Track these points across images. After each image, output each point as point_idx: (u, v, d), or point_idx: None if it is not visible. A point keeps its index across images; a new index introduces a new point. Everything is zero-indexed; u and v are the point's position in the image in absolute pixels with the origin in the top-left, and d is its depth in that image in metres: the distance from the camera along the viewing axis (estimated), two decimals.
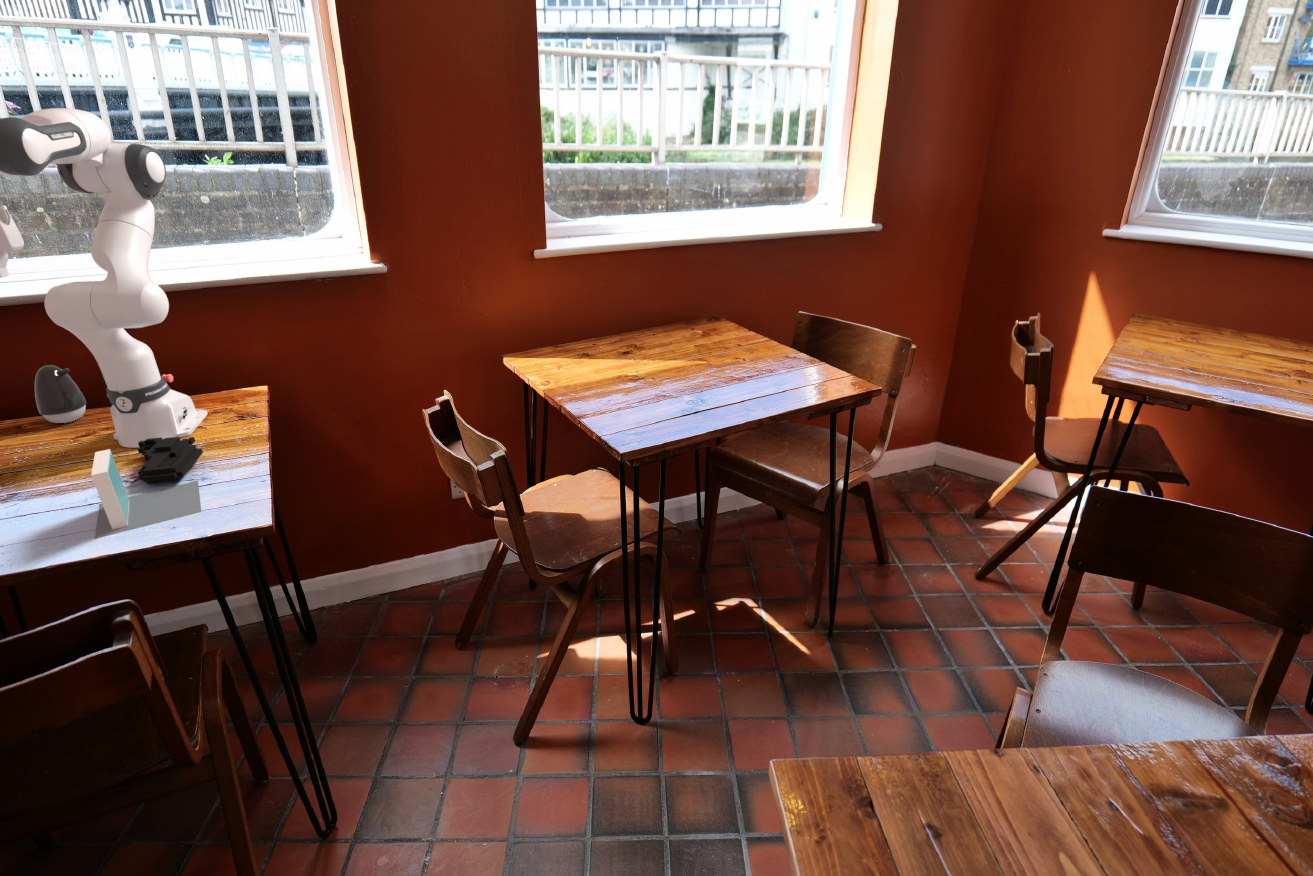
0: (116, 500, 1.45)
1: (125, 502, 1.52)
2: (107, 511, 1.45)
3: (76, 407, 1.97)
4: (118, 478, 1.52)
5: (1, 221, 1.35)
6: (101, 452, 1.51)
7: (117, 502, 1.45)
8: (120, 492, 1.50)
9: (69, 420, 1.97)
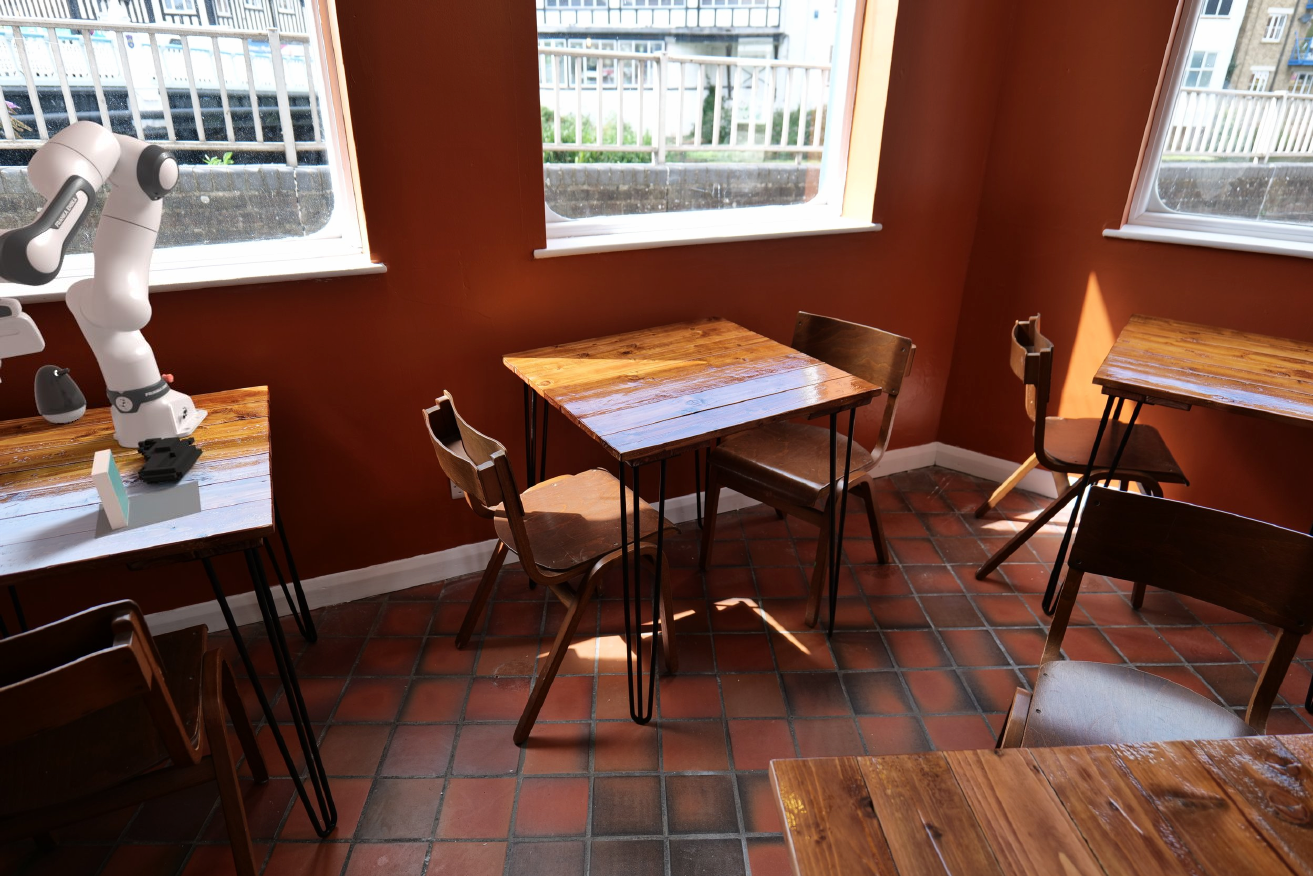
0: (116, 500, 1.45)
1: (125, 502, 1.52)
2: (107, 511, 1.45)
3: (76, 407, 1.97)
4: (118, 478, 1.52)
5: None
6: (101, 452, 1.51)
7: (117, 502, 1.45)
8: (120, 492, 1.50)
9: (69, 420, 1.97)
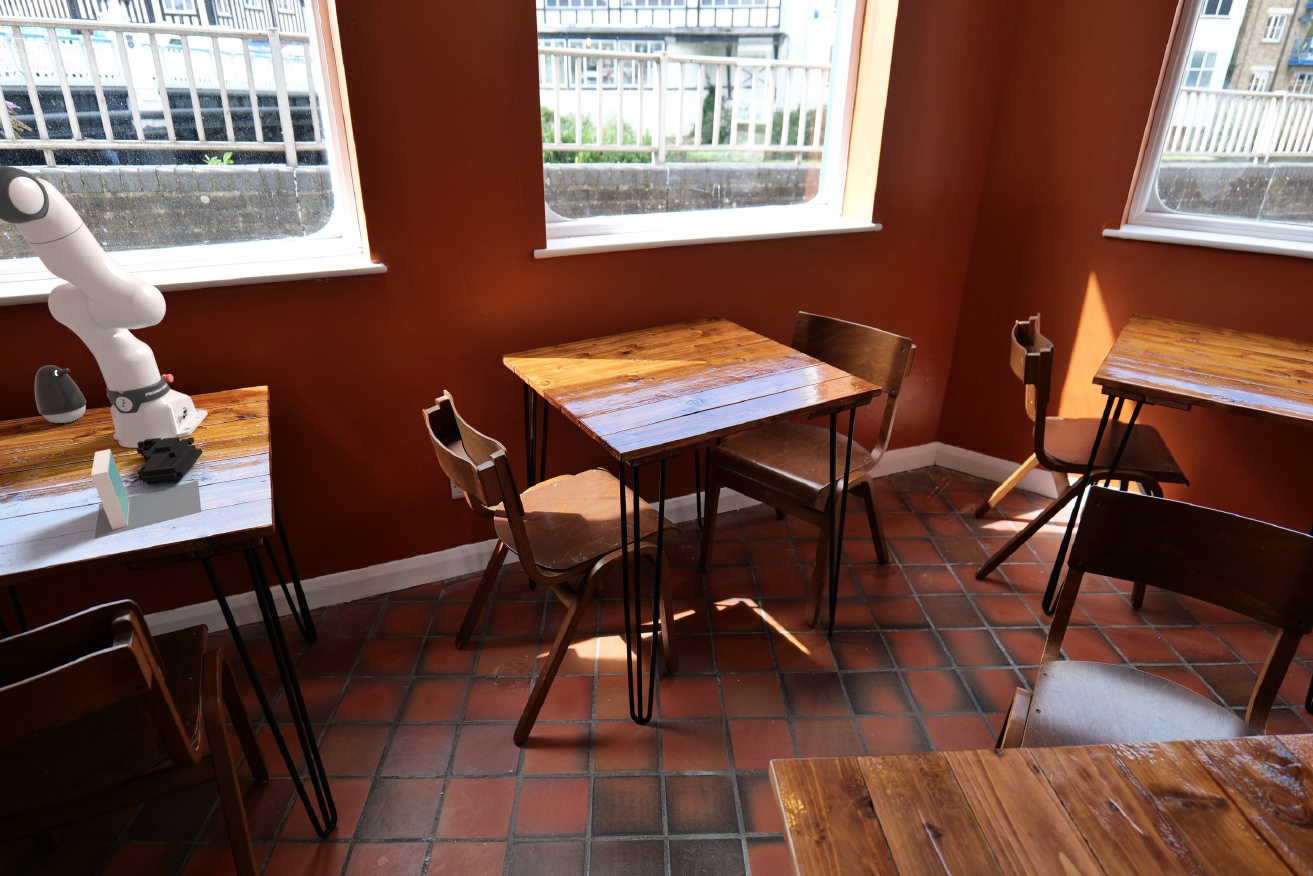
0: (116, 500, 1.45)
1: (125, 502, 1.52)
2: (107, 511, 1.45)
3: (76, 407, 1.97)
4: (118, 478, 1.52)
5: None
6: (101, 452, 1.51)
7: (117, 502, 1.45)
8: (120, 492, 1.50)
9: (69, 420, 1.97)
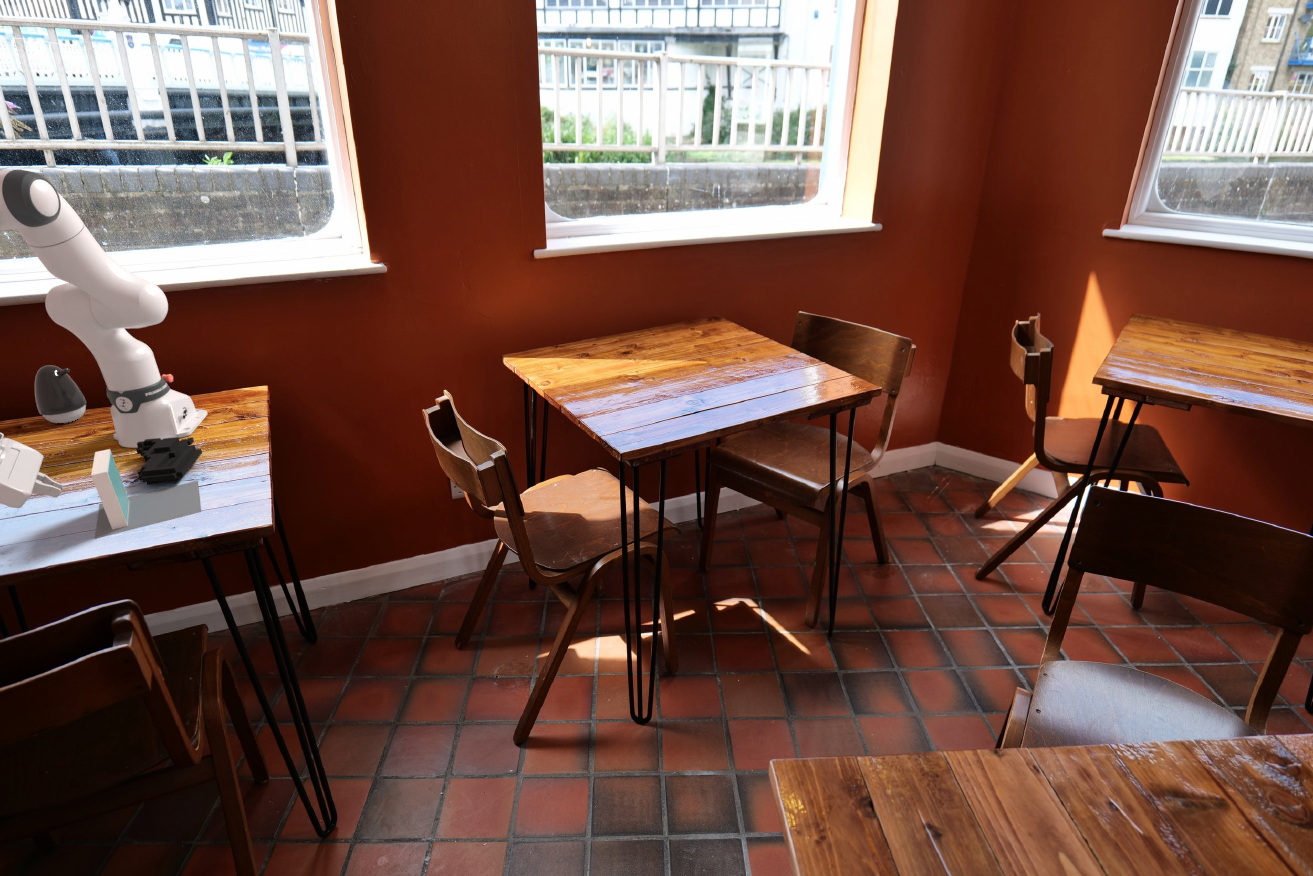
0: (116, 500, 1.45)
1: (125, 502, 1.52)
2: (107, 511, 1.45)
3: (76, 407, 1.97)
4: (118, 478, 1.52)
5: None
6: (101, 452, 1.51)
7: (117, 502, 1.45)
8: (120, 492, 1.50)
9: (69, 420, 1.97)
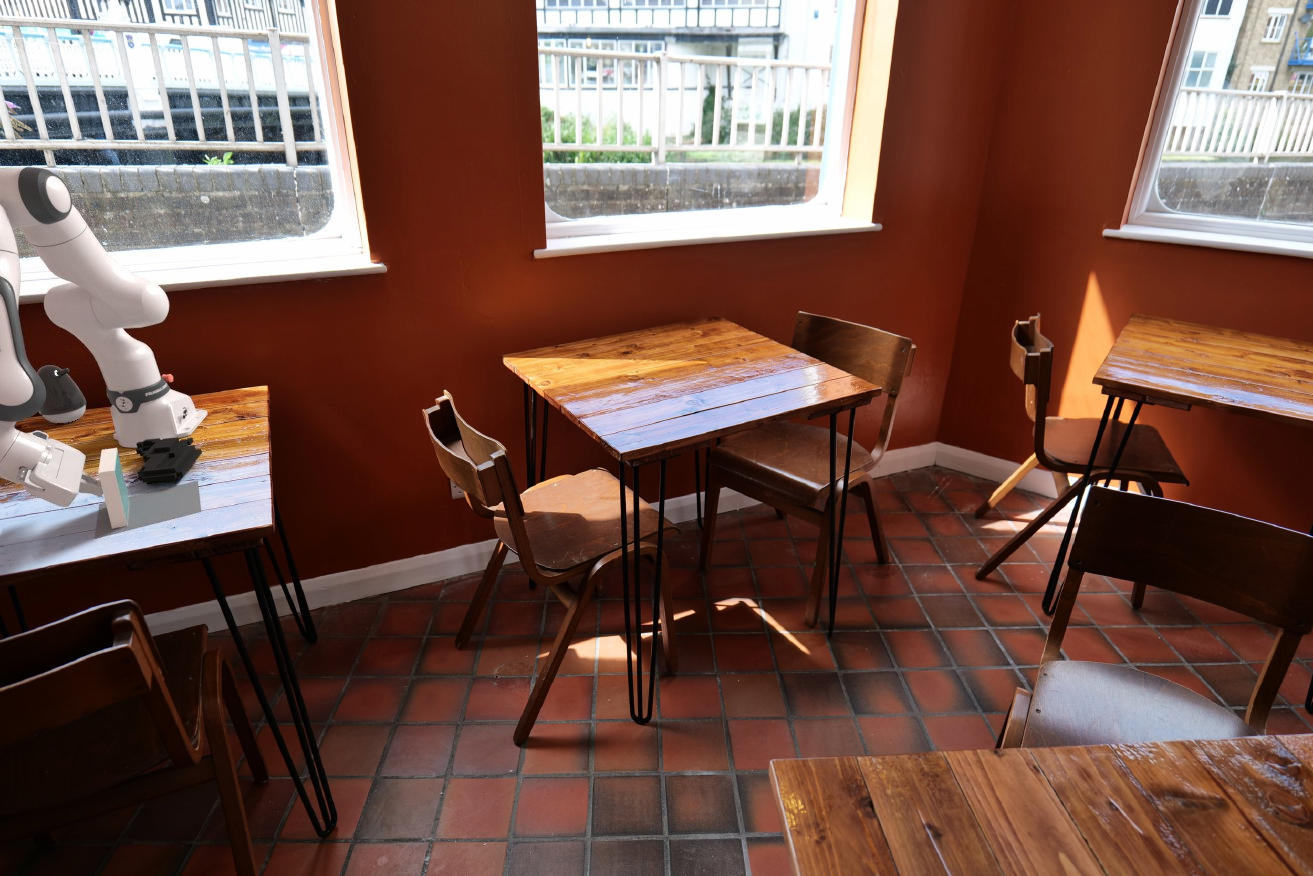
0: (119, 499, 1.45)
1: (126, 502, 1.52)
2: (109, 509, 1.45)
3: (76, 407, 1.97)
4: (122, 477, 1.52)
5: (36, 493, 1.35)
6: (108, 450, 1.51)
7: (120, 501, 1.46)
8: (123, 491, 1.50)
9: (69, 420, 1.97)
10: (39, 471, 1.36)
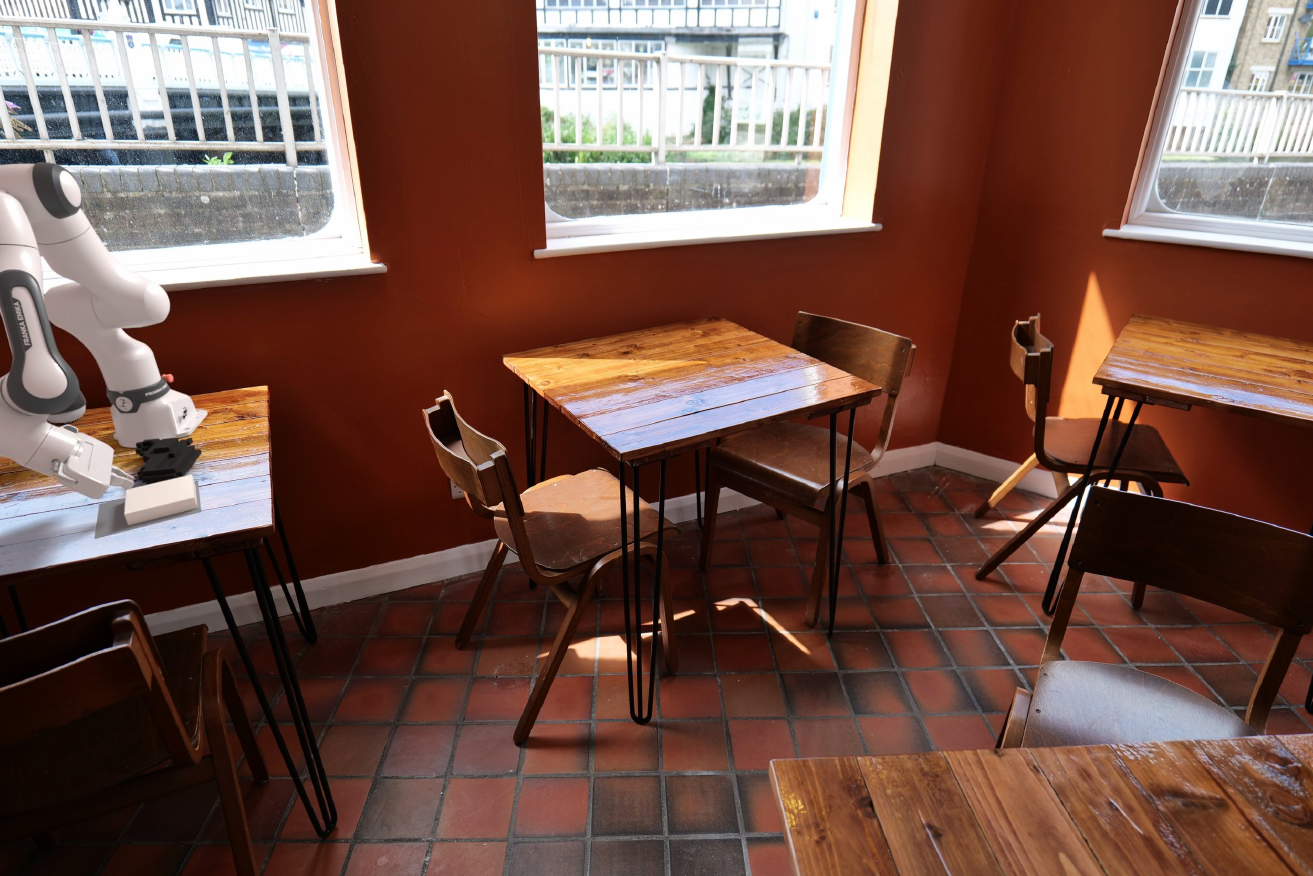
0: (162, 515, 1.50)
1: None
2: (149, 509, 1.49)
3: (76, 407, 1.97)
4: None
5: (69, 485, 1.37)
6: (193, 480, 1.61)
7: (159, 516, 1.50)
8: None
9: (69, 420, 1.97)
10: (71, 464, 1.38)
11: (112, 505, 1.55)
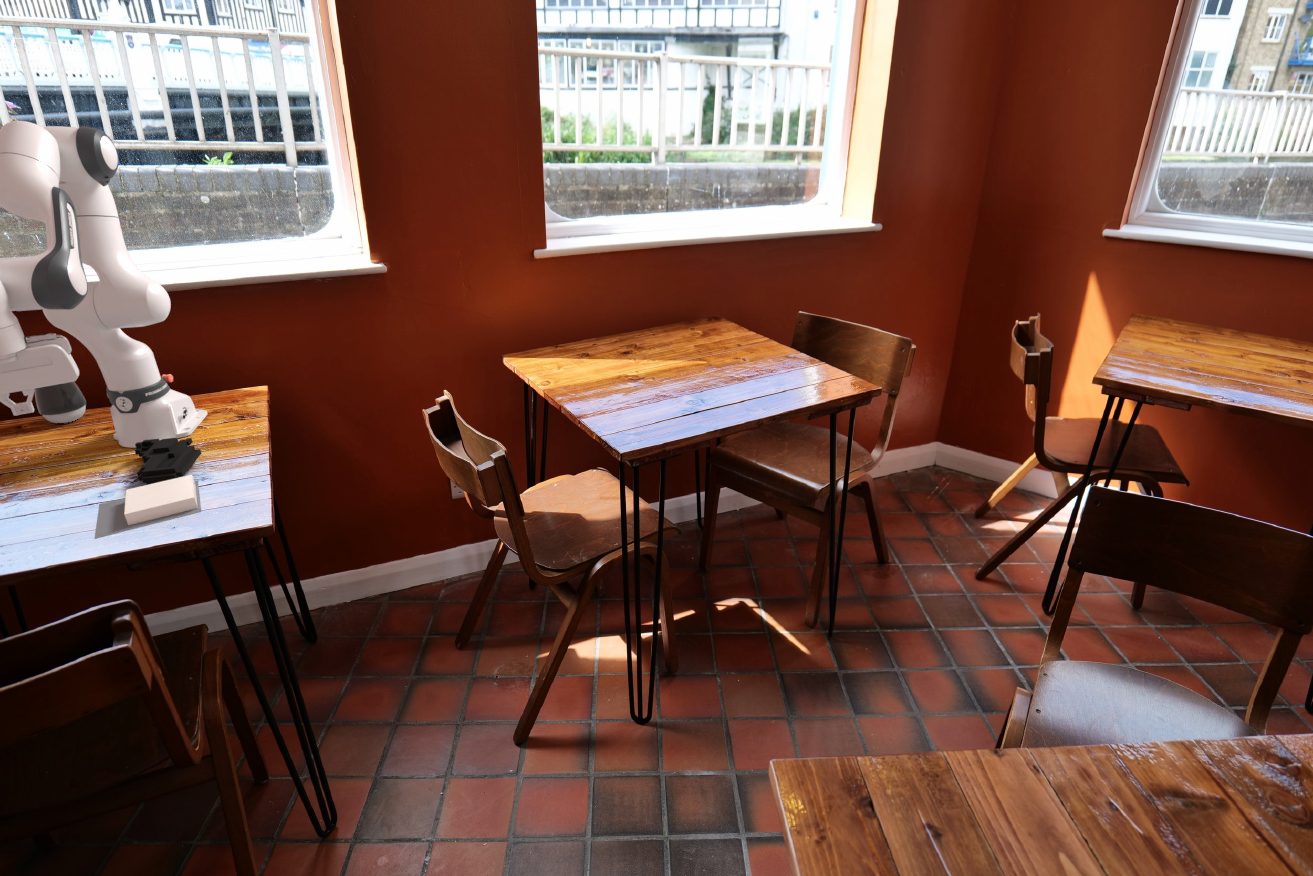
0: (162, 515, 1.50)
1: None
2: (149, 509, 1.49)
3: (76, 407, 1.97)
4: None
5: (66, 353, 1.39)
6: (193, 480, 1.61)
7: (159, 516, 1.50)
8: None
9: (69, 420, 1.97)
10: None
11: (112, 505, 1.55)
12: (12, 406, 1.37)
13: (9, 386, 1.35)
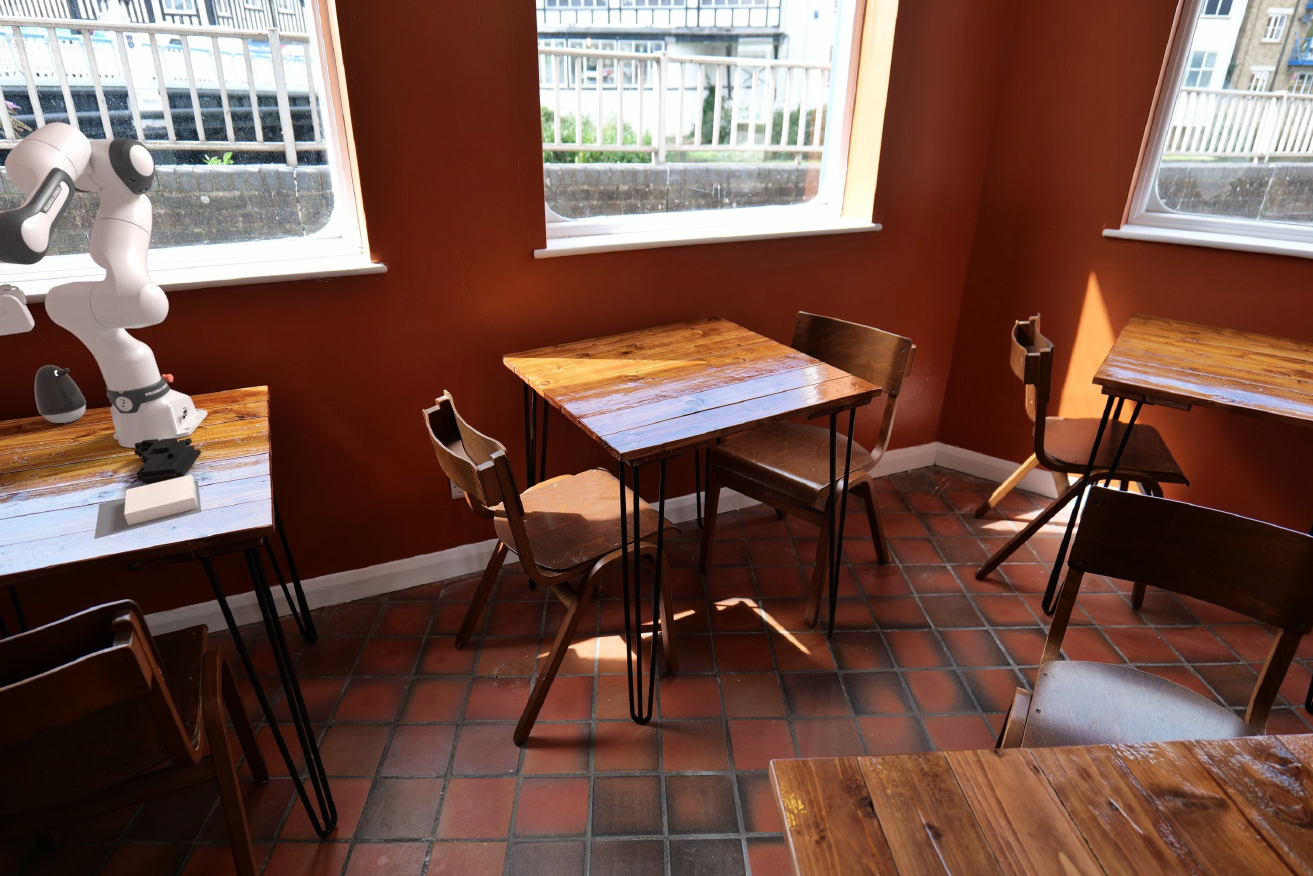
0: (162, 515, 1.50)
1: None
2: (149, 509, 1.49)
3: (76, 407, 1.97)
4: None
5: (21, 303, 1.45)
6: (193, 480, 1.61)
7: (159, 516, 1.50)
8: None
9: (69, 420, 1.97)
10: None
11: (112, 505, 1.55)
12: None
13: None
